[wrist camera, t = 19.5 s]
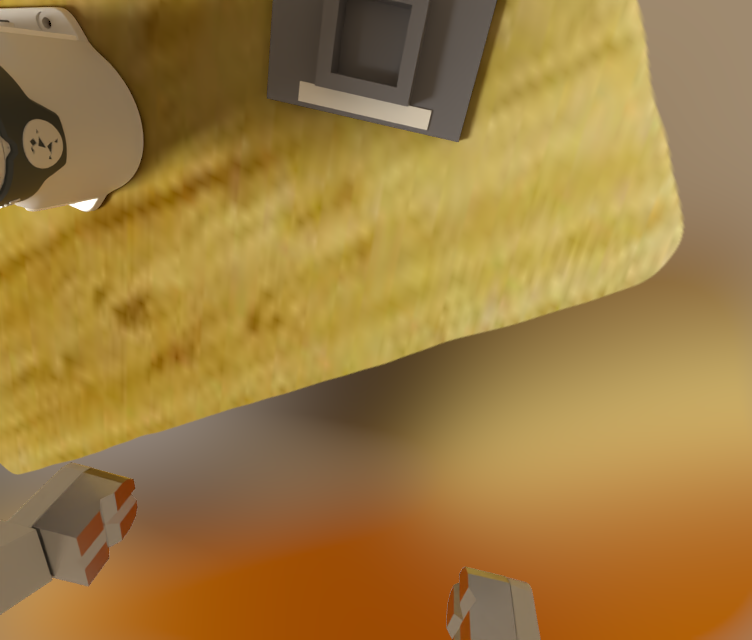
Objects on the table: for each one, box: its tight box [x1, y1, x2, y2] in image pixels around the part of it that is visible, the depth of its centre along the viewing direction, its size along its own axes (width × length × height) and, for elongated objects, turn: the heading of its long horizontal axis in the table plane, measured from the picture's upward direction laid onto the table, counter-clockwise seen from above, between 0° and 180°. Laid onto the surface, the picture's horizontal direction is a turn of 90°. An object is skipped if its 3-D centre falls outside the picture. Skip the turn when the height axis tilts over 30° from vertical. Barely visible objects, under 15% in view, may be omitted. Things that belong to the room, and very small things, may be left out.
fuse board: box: [267, 0, 497, 142], centre depth 35 cm, size 18×12×4 cm, turn 79°
